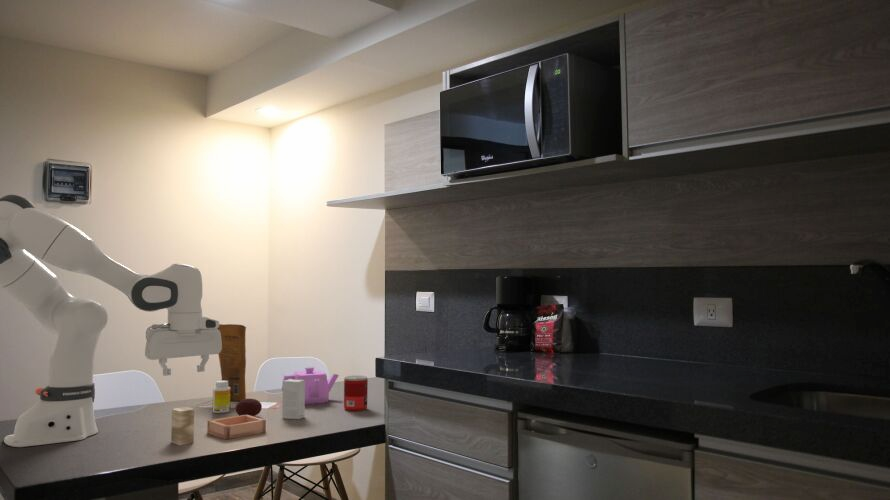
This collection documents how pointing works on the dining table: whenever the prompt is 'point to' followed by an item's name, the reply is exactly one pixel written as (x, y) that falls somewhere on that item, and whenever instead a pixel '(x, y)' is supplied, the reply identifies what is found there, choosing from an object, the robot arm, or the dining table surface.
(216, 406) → the supplement bottle
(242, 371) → the pancake mix bag
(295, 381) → the skincare box
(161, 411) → the dining table surface
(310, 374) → the teakettle
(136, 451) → the dining table surface
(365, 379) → the canned food
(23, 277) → the robot arm
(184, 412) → the beige tall rectangular block
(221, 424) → the tray
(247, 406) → the potato
